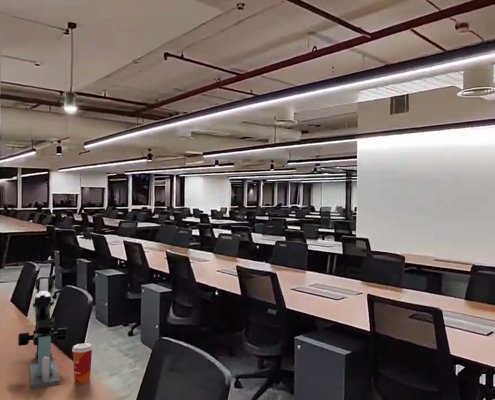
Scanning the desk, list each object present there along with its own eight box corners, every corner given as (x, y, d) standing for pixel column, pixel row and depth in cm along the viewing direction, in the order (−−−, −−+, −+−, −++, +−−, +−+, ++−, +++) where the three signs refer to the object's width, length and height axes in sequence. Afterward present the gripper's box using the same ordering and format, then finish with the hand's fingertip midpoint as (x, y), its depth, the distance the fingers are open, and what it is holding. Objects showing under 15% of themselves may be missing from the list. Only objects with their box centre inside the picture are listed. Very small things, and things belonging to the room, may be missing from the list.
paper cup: (72, 379, 176) (72, 343, 176) (92, 376, 179) (92, 341, 179) (71, 386, 169) (71, 350, 169) (92, 383, 171) (93, 347, 171)
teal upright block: (36, 372, 178) (36, 337, 178) (52, 369, 181) (52, 335, 181) (36, 380, 170) (37, 344, 170) (53, 377, 173) (54, 341, 173)
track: (29, 368, 187) (29, 343, 187) (55, 364, 192) (55, 340, 192) (31, 388, 167) (31, 360, 167) (60, 383, 171) (60, 356, 171)
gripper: (18, 313, 180) (18, 348, 171) (67, 308, 189) (70, 341, 179) (18, 328, 187) (18, 362, 177) (65, 322, 196) (68, 355, 186)
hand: (44, 355), depth 180 cm, fingers closed
